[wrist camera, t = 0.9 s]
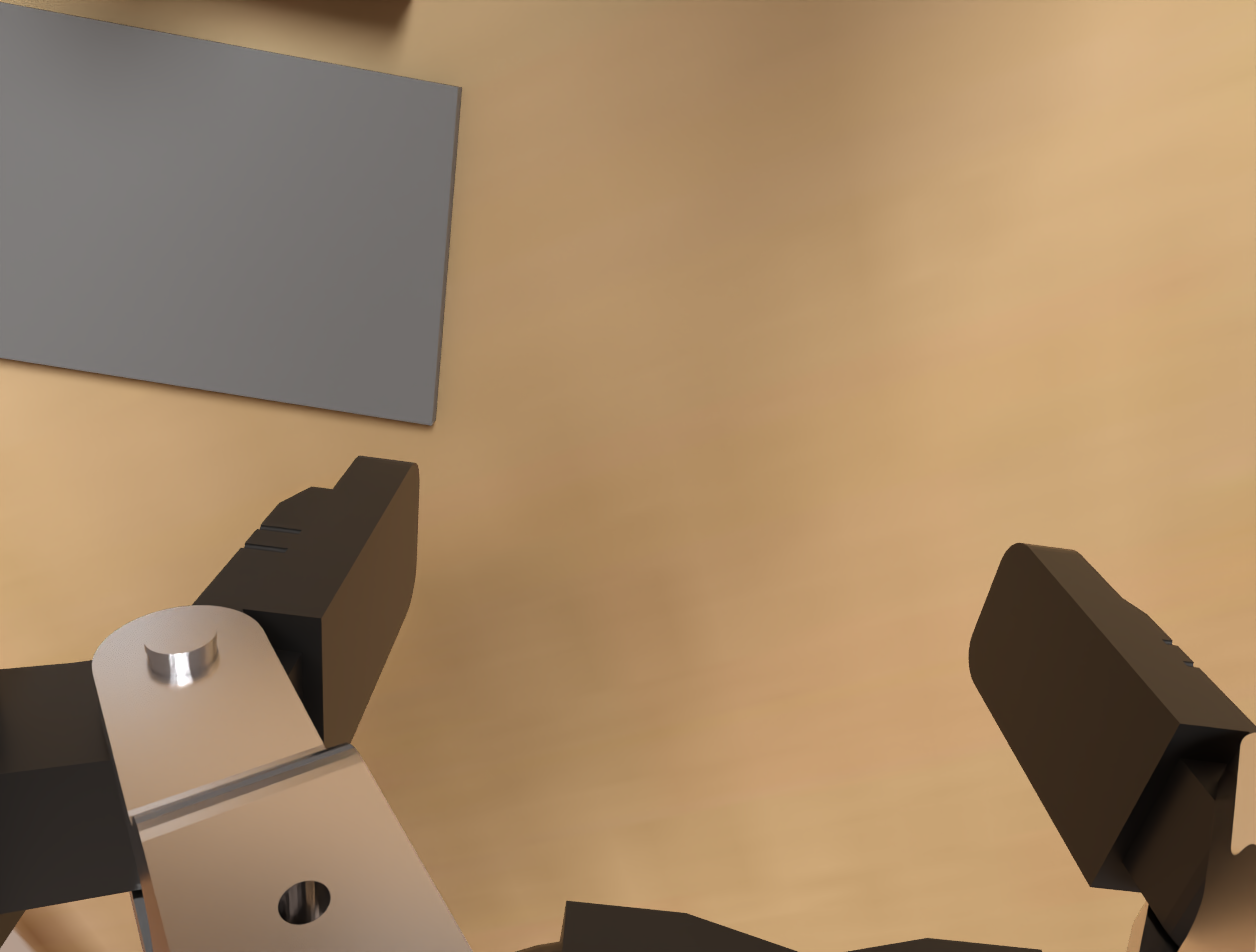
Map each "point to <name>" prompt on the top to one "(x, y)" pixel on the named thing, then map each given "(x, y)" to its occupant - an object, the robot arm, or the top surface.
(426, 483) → the top surface
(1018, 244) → the top surface
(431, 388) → the rubber mat
